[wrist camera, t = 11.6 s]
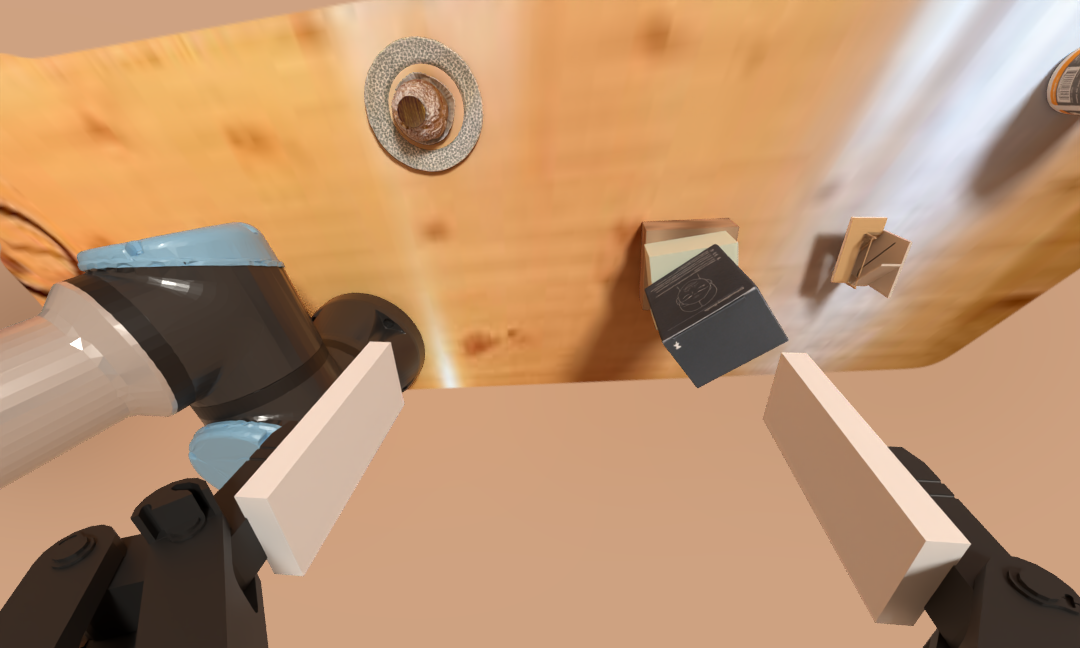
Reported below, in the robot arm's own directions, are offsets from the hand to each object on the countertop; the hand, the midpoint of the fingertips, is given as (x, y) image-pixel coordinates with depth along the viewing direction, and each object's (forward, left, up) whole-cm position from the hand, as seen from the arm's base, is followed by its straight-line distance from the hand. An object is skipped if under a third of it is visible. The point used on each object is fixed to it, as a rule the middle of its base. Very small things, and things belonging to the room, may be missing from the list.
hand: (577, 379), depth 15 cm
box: (+11, -8, -28) cm, 31 cm away
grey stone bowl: (-16, +8, -35) cm, 40 cm away
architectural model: (+28, -7, -35) cm, 46 cm away
